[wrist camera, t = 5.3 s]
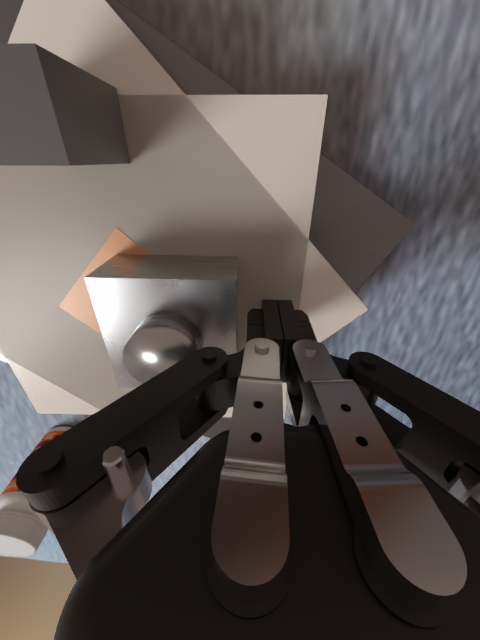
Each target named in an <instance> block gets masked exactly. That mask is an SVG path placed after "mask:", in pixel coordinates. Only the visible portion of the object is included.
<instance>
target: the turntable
mask: <svg viewBox="0 0 480 640" xmlns="http://www.w3.org/2000/svg"><path fill="white" fill-rule="evenodd" d="M327 98H328V95H186V94H185V93H184V92H183V91H182V89H181V88H180V87H179V86H178V85H177V84H176V82H175V81H174V80H173V79H172V78H171V76H170V75H169V74H168V73H167V72H166V71H165V69H164V68H163V67H162V66H161V65H160V64H159V62H158V61H157V60H156V59H155V58H154V56H153V55H152V54H151V53H150V52H149V51H148V49H147V48H146V47H145V46H144V45H143V44H142V42H141V41H140V40H139V39H138V38H137V36H136V35H135V34H134V33H133V32H132V31H131V29H130V28H129V27H128V26H127V25H126V24H125V22H124V21H123V20H122V19H121V18H120V16H119V15H118V14H117V13H116V12H115V11H114V9H113V8H112V7H111V6H110V5H109V4H108V2H107V1H106V0H24V1H23V4H22V7H21V9H20V12H19V14H18V17H17V20H16V22H15V25H14V28H13V30H12V33H11V36H10V38H9V41H8V44H0V355H2V356H4V357H5V358H6V360H7V361H8V363H9V365H10V366H11V368H12V370H13V372H14V373H15V375H16V377H17V378H18V380H19V382H20V383H21V385H22V387H23V389H24V390H25V392H26V394H27V395H28V397H29V399H30V401H31V402H32V404H33V406H34V407H35V409H36V411H37V412H38V413H39V414H89V415H93V414H95V413H96V412H98V411H99V410H101V409H103V408H104V407H106V406H108V405H109V404H111V403H112V402H114V401H116V400H117V399H119V398H121V397H122V396H124V395H125V394H127V393H129V392H130V391H132V390H133V389H135V388H127V387H118V384H117V381H116V378H115V374H114V371H113V368H112V365H111V362H110V358H109V355H108V352H107V349H106V346H105V342H104V339H103V336H102V333H101V329H100V326H99V323H98V320H97V317H96V313H95V310H94V307H93V304H92V301H91V297H90V294H89V291H88V288H87V284H86V281H85V278H84V277H86V276H87V275H88V274H90V273H91V272H92V271H94V270H95V269H97V268H98V267H99V266H101V265H102V264H103V263H105V262H106V261H108V260H109V259H110V258H112V257H113V256H114V255H116V254H134V255H184V256H233V257H238V341H237V352H240V351H241V350H243V349H244V348H245V345H246V341H247V313H248V312H249V311H250V310H251V309H252V308H254V309H261V303H262V299H268V300H276V301H277V300H292V303H293V307H294V310H302V311H304V312H305V313H306V314H307V315H308V317H309V320H310V323H311V325H312V328H313V331H314V334H315V336H316V339H317V342H319V343H320V342H322V341H323V340H325V339H326V338H328V337H329V336H331V335H332V334H334V333H335V332H337V331H338V330H340V329H341V328H342V327H344V326H345V325H347V324H348V323H350V322H351V321H353V320H354V319H356V318H357V317H359V316H360V315H361V314H363V313H364V312H366V311H367V310H368V309H367V308H366V307H365V305H364V304H363V303H362V302H361V300H360V299H359V298H358V297H357V295H356V294H355V293H354V292H353V291H352V290H351V288H350V287H349V286H348V285H347V284H346V282H345V281H344V280H343V279H342V278H341V277H340V275H339V274H338V273H337V272H336V271H335V270H334V268H333V267H332V266H331V265H330V264H329V262H328V261H327V260H326V259H325V258H324V257H323V255H322V254H321V253H320V252H319V251H318V250H317V248H316V247H315V246H314V245H313V244H312V242H311V241H310V240H309V232H310V225H311V217H312V210H313V202H314V195H315V187H316V180H317V173H318V165H319V158H320V150H321V143H322V135H323V128H324V121H325V113H326V106H327ZM286 389H287V384H286V383H283V382H282V392H283V418H285V410H286V403H287V400H286ZM232 413H233V407H230V408H228V410H227V412H226V414H225V415H224V416H223V417H232Z"/></svg>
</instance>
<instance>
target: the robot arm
mask: <svg viewBox="0 0 480 640" xmlns="http://www.w3.org/2000/svg"><path fill="white" fill-rule="evenodd" d="M282 382H283V383H286V384H287V389H286V400H287V404H288V408H289V412H290V416H291V421H292V425H289V424H285V423H284V420H283V392H282ZM378 396H379V397H380V398H382V399H383V400H385V401H386V402H388V403H389V404H391V405H392V406H394V407H396V408H397V409H399V410H400V411H402V412H403V413H405V414H406V415H407V416H408V417H409V418H410V420H411V422H412V429H411V428H409V427H407V426H406V425H404V424H403V423H401V422H400V421H398V420H397V419H395V418H394V417H392V416H391V415H389V414H388V413H387V412H385V411H384V410H382V409H381V408H379V407H378V406H376V405H375V403H376V400H377V398H378ZM230 407H233V413H232V419H231V425H230V429H228V430H226V431H223V432H221V433H219V434H218V435H216V436H214V437H213V438H212V439H210V440H209V441H208V442H207V443H205V444H204V445H203V446H202V447H201V448H200V449H199V450H198V451H197V453H196V454H195V455H194V456H193V457H192V458H191V459H190V460H189V461H188V462H187V463H186V464H185V465H184V466H183V467H182V468H181V469H180V470H179V471H178V472H177V473H176V474H175V475H174V476H173V477H172V478H171V479H170V480H169V481H168V482H167V483H166V484H165V485H164V486H163V487H162V488H161V489H160V490H159V491H158V492H157V493H156V494H155V495H154V496H153V497H152V498H151V500H150V501H149V502H148V500H149V498H150V495H151V492H152V481H153V480H154V479H155V478H156V477H157V476H158V475H159V474H160V473H162V472H163V471H164V470H165V469H166V468H167V467H168V466H169V465H170V464H171V463H172V462H174V461H175V460H176V459H177V458H178V457H179V456H180V455H181V454H182V453H183V452H185V451H186V450H187V449H188V448H189V447H190V446H191V445H192V444H193V443H194V442H195V441H197V440H198V439H199V438H200V437H201V436H202V435H203V434H204V433H205V432H206V431H207V430H209V429H210V428H211V427H212V426H213V425H214V424H215V423H216V422H217V421H218V420H219V419H221V418H222V417H223V416H224V415H225V414H226V412H227V410H228V408H230ZM16 485H17V487H18V489H19V490H20V491H21V492H22V494H23V495H24V496H25V498H26V499H27V500H28V501H29V505H30V507H31V509H32V510H33V511H34V512H35V514H36V515H37V516H38V517H39V519H40V520H41V521H42V522H43V524H44V525H45V526H46V527H47V528H48V530H50V531H52V532H53V533H54V534H55V536H56V538H57V540H58V542H59V544H60V546H61V549H62V551H63V553H64V555H65V557H66V559H67V561H68V563H69V565H70V567H71V569H72V571H73V573H74V575H75V577H76V579H77V581H76V584H75V585H74V587H73V588H72V590H71V593H70V594H69V596H68V598H67V601H66V603H65V605H64V608H63V610H62V613H61V616H60V619H59V622H58V625H57V629H56V633H55V636H54V640H480V411H478V410H476V409H474V408H472V407H470V406H469V405H467V404H465V403H463V402H461V401H459V400H458V399H456V398H454V397H452V396H450V395H448V394H447V393H445V392H443V391H441V390H439V389H437V388H436V387H434V386H432V385H430V384H428V383H426V382H425V381H423V380H421V379H419V378H417V377H415V376H414V375H412V374H410V373H408V372H406V371H404V370H403V369H401V368H399V367H397V366H395V365H393V364H392V363H390V362H388V361H386V360H384V359H382V358H381V357H379V356H377V355H374V354H372V353H368V352H355V353H353V354H351V355H350V357H349V360H347V359H343V358H338V357H335V356H332V355H330V354H329V352H328V350H327V349H326V347H325V346H324V345H323V344H321V343H319V342H317V339H316V336H315V334H314V331H313V328H312V325H311V323H310V320H309V317H308V315H307V314H306V313H305V312H304V311H302V310H294V307H293V303H292V300H277V301H276V300H268V299H262V303H261V309H254V308H252V309H251V310H250V311H249V312H248V313H247V341H246V345H245V348H244V349H243V350H241V351H240V352H237V353H234V354H230V355H227V353H226V352H225V351H224V350H223V349H221V348H218V347H204V348H201V349H199V350H197V351H195V352H193V353H192V354H190V355H189V356H187V357H185V358H184V359H182V360H181V361H179V362H177V363H176V364H174V365H172V366H171V367H169V368H168V369H166V370H164V371H163V372H161V373H159V374H158V375H156V376H155V377H153V378H151V379H150V380H148V381H146V382H145V383H143V384H142V385H140V386H138V387H137V388H135V389H133V390H132V391H130V392H129V393H127V394H125V395H124V396H122V397H121V398H119V399H117V400H116V401H114V402H112V403H111V404H109V405H108V406H106V407H104V408H103V409H101V410H99V411H98V412H96V413H95V414H93V415H91V416H90V417H88V418H86V419H85V420H83V421H82V422H80V423H78V424H77V425H75V426H73V427H72V428H70V429H69V430H67V431H65V432H64V433H62V434H61V435H59V436H57V437H56V438H54V439H52V440H51V441H49V442H48V443H46V444H44V445H43V446H41V447H40V448H38V449H37V450H35V451H34V452H33V453H31V454H30V455H29V456H28V457H27V458H26V460H25V461H24V462H23V463H22V465H21V466H20V468H19V470H18V472H17V475H16ZM147 502H148V503H147ZM146 503H147V504H146Z"/></svg>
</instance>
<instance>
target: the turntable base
mask: <svg viewBox="0 0 480 640" xmlns="http://www.w3.org/2000/svg"><path fill="white" fill-rule="evenodd" d="M23 1H24V0H0V44H8V41H9V38H10V36H11V33H12V30H13V28H14V25H15V22H16V20H17V17H18V14H19V12H20V9H21V7H22V4H23ZM106 1H107V2H108V4H109V5H110V6H111V7H112V8H113V9H114V11H115V12H116V13H117V14H118V15H119V16H120V18H121V19H122V20H123V21H124V22H125V24H126V25H127V26H128V27H129V28H130V29H131V31H132V32H133V33H134V34H135V35H136V36H137V38H138V39H139V40H140V41H141V42H142V44H143V45H144V46H145V47H146V48H147V49H148V51H149V52H150V53H151V54H152V55H153V56H154V58H155V59H156V60H157V61H158V62H159V64H160V65H161V66H162V67H163V68H164V69H165V71H166V72H167V73H168V74H169V75H170V76H171V78H172V79H173V80H174V81H175V82H176V84H177V85H178V86H179V87H180V88H181V89H182V91H183V92H184V93H185V94H186V95H242V94H241V93H240V92H238V91H237V90H236V89H234V88H233V87H232V86H230V85H229V84H228V83H226V82H225V81H224V80H222V79H221V78H220V77H218V76H217V75H216V74H214V73H213V72H212V71H210V70H209V69H208V68H206V67H205V66H204V65H202V64H201V63H200V62H198V61H197V60H196V59H194V58H193V57H192V56H190V55H189V54H188V53H186V52H185V51H184V50H182V49H181V48H180V47H178V46H177V45H176V44H174V43H173V42H172V41H170V40H169V39H168V38H166V37H165V36H164V35H162V34H161V33H160V32H158V31H157V30H156V29H154V28H153V27H152V26H150V25H149V24H148V23H146V22H145V21H144V20H142V19H141V18H140V17H138V16H137V15H136V14H134V13H133V12H132V11H130V10H129V9H128V8H126V7H125V6H124V5H122V4H121V3H120V2H118V1H117V0H106ZM415 225H416V224H414V223H413V222H412V221H410V220H409V219H408V218H406V217H405V216H404V215H402V214H401V213H400V212H398V211H397V210H396V209H394V208H393V207H392V206H390V205H389V204H388V203H386V202H385V201H384V200H382V199H381V198H380V197H378V196H377V195H376V194H374V193H373V192H372V191H370V190H369V189H368V188H366V187H365V186H364V185H362V184H361V183H360V182H358V181H357V180H356V179H354V178H353V177H352V176H350V175H349V174H348V173H346V172H345V171H344V170H342V169H341V168H340V167H338V166H337V165H336V164H334V163H333V162H332V161H330V160H329V159H328V158H326V157H325V156H324V155H322V154H321V153H320V158H319V165H318V173H317V180H316V187H315V195H314V202H313V210H312V217H311V225H310V232H309V240H310V241H311V242H312V244H313V245H314V246H315V247H316V248H317V250H318V251H319V252H320V253H321V254H322V255H323V257H324V258H325V259H326V260H327V261H328V262H329V264H330V265H331V266H332V267H333V268H334V270H335V271H336V272H337V273H338V274H339V275H340V277H341V278H342V279H343V280H344V281H345V282H346V284H347V285H348V286H349V287H350V288H351V290H352V291H353V292H354V293H355V292H356V291H357V290H358V288H359V287H360V286H361V285H362V284H363V283H364V282H365V281H366V280H367V278H368V277H369V276H370V275H371V274H372V273H373V272H374V271H375V269H376V268H377V267H378V266H379V265H380V264H381V263H382V262H383V261H384V259H385V258H386V257H387V256H388V255H389V254H390V253H391V252H392V251H393V249H394V248H395V247H396V246H397V245H398V244H399V243H400V242H401V241H402V239H403V238H404V237H405V236H406V235H407V234H408V233H409V232H410V230H411V229H412V228H413V227H414V226H415ZM0 360H1V361H4V362H7V363H8V361H7V360H6V358H5V357H4V356H2V355H0ZM231 419H232V417H222V418H221V419H219V420H218V421H217V422H216V423H215V424H214V425H213V426H212V427H211V428H210V429H209V430H207V431H206V432H205V433H204V434H203V435H204V436H206V437H209V438H213V437H214V436H216V435H218V434H219V433H221V432H223V431H226V430H228V429H230V425H231Z"/></svg>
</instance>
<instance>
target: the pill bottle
mask: <svg viewBox="0 0 480 640" xmlns="http://www.w3.org/2000/svg"><path fill="white" fill-rule="evenodd" d="M70 428H72V427H66V426H62V427H55V428H52V429H50V430H49V431H48V432H47V433H46V434H45V435H44V437H43V438H42V439H41V441H40V442H39V444H38V445H37V446H36V447H35V449H34V450H33V451H32V453H33V452H34V451H35V450H37V449H38V448H40V447H41V446H43V445H44V444H46V443H48V442H49V441H51V440H52V439H54V438H56V437H57V436H59V435H61V434H62V433H64V432H65V431H67V430H69V429H70ZM16 475H17V473H16ZM16 475H15V476H14V477H13V479H12V480H11V482H10V483H9V484H8V486H7V487H6V488H5V490H4V491H3V492H2V494H1V495H0V553H1V554H5V555H12V556H28V555H32V554H34V553H35V552H36V550H37V549H38V547H39V545H40V543H41V542H42V540H43V538H44V537H45V535H46V532H47V530H48V528H47V527H46V526H45V525H44V524H43V522H42V521H41V520H40V519H39V517H38V516H37V515H36V514H35V512H34V511H33V510H32V509H31V507H30V505H29V501H28V500H27V499H26V498H25V496H24V495H23V494H22V492H21V491H20V490H19V489H18V487H17V485H16Z"/></svg>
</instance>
